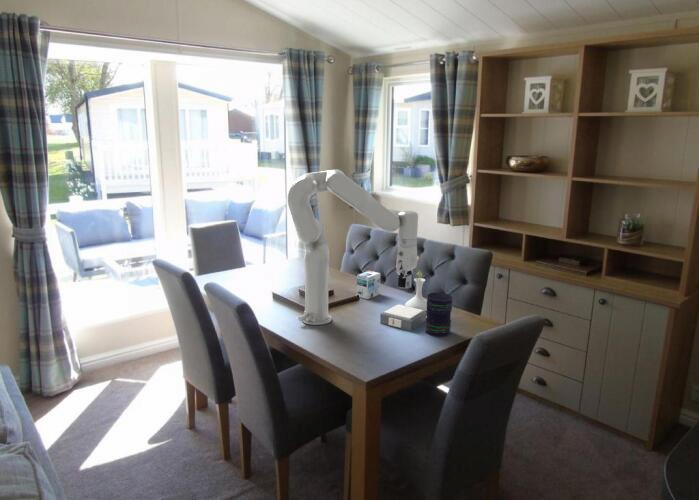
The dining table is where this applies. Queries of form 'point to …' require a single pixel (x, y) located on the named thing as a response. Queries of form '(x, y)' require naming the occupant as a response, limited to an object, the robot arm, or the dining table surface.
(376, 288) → the light bulb box
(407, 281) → the steel weight
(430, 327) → the storage jar
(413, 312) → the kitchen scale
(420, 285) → the flower in vase
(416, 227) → the robot arm
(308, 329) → the dining table surface
